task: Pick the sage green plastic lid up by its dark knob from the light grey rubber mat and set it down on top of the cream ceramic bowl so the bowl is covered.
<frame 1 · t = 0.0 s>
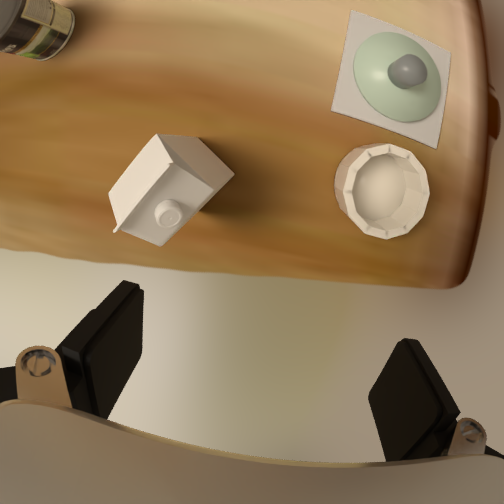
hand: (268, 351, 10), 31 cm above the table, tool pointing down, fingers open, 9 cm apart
milk carton: (197, 174, 39), on the table
mat: (396, 76, 32), on the table
lid: (398, 76, 32), resting on mat
coffee can: (53, 33, 32), on the table
bowl: (373, 185, 38), on the table
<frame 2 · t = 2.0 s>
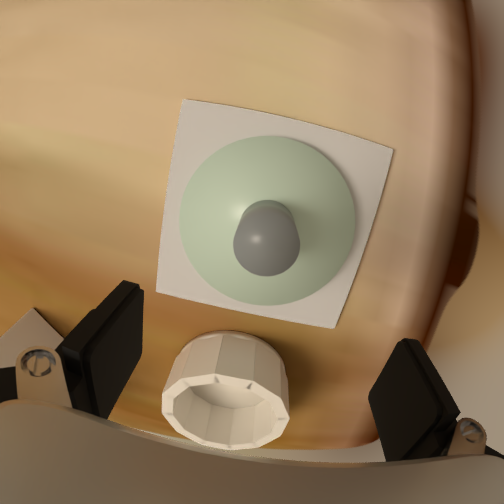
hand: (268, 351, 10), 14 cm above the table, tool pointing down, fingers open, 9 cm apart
milk carton: (46, 340, 30), on the table
mat: (267, 221, 23), on the table
lid: (267, 223, 23), resting on mat
bowl: (230, 373, 29), on the table
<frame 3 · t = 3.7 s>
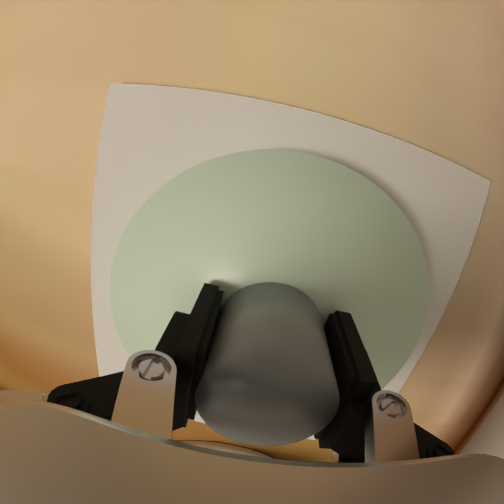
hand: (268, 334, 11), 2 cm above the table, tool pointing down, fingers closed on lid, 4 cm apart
mat: (269, 309, 13), on the table
lid: (269, 315, 12), point 1 cm above the table, touching gripper, mat
bowl: (217, 477, 18), on the table
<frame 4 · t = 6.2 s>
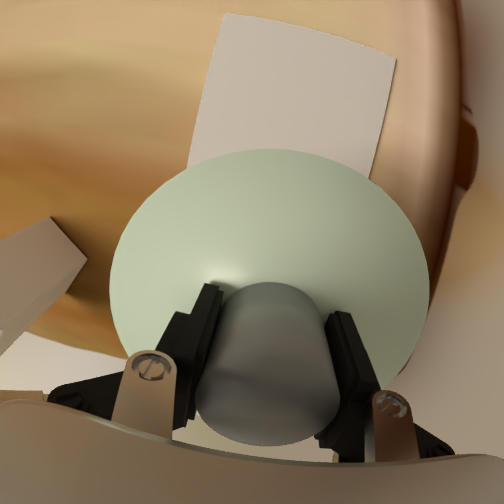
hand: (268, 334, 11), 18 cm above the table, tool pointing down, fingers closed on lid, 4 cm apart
milk carton: (57, 255, 31), on the table
mat: (293, 108, 24), on the table
lid: (269, 315, 12), point 17 cm above the table, touching gripper
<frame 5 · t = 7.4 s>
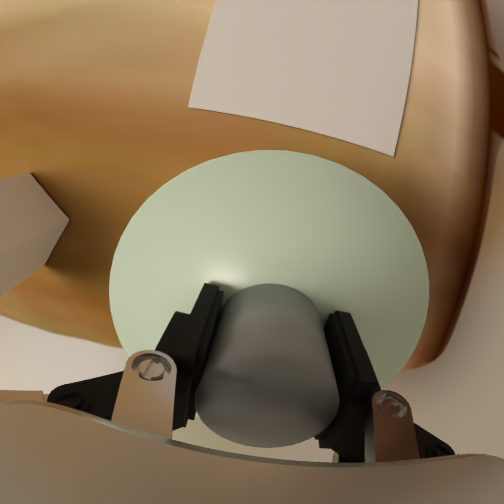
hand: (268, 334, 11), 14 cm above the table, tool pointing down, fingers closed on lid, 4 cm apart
milk carton: (37, 219, 25), on the table
mat: (314, 34, 18), on the table
lid: (269, 317, 12), point 13 cm above the table, touching gripper
when the fingers open (9 cm above the table, at t = 8.5 s): lid drops 1 cm, resting on bowl.
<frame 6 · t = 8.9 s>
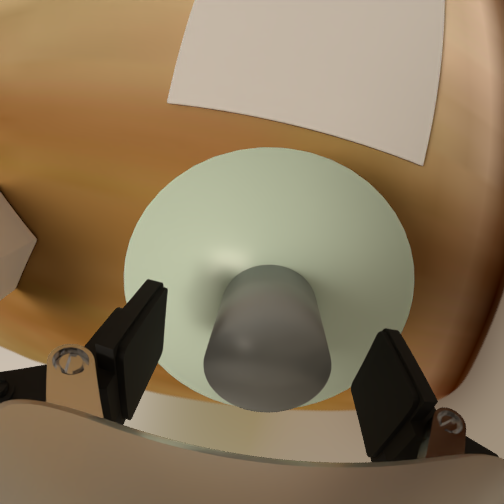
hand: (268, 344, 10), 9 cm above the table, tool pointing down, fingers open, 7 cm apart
milk carton: (5, 237, 21), on the table
mat: (325, 13, 14), on the table
lid: (269, 297, 14), point 6 cm above the table, touching bowl
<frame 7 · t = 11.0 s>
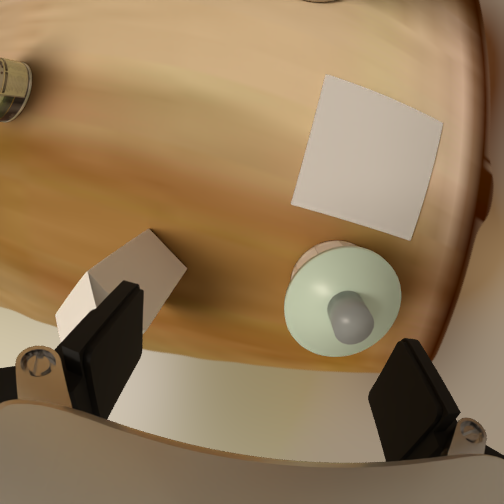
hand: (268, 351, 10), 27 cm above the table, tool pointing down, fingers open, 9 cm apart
milk carton: (152, 264, 38), on the table
mat: (373, 158, 33), on the table
lid: (343, 303, 32), point 6 cm above the table, touching bowl
coffee can: (13, 91, 31), on the table
bowl: (333, 282, 38), on the table
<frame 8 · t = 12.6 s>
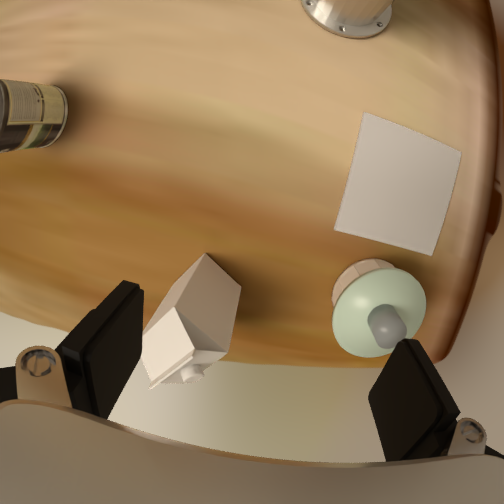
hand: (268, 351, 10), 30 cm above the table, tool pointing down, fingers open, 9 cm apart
milk carton: (207, 284, 43), on the table
mat: (402, 187, 37), on the table
lid: (379, 313, 37), point 6 cm above the table, touching bowl
coffee can: (46, 116, 36), on the table
bowl: (367, 293, 42), on the table
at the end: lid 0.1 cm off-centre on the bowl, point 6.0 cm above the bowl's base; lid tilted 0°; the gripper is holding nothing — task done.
